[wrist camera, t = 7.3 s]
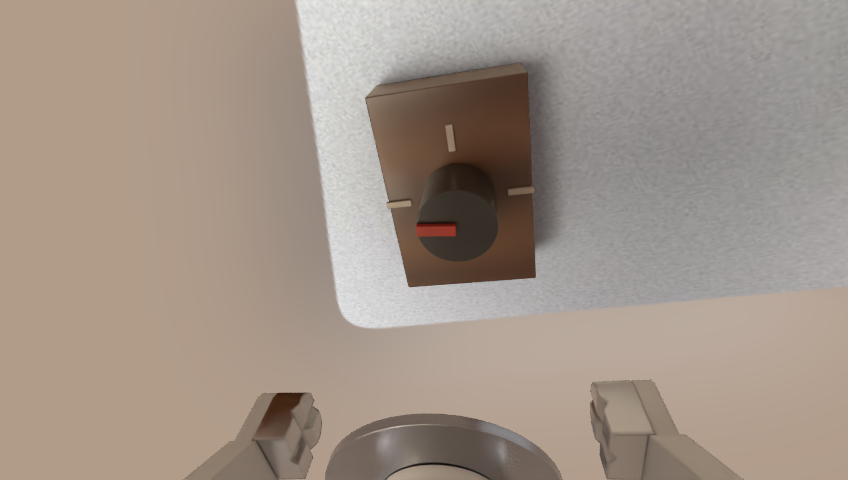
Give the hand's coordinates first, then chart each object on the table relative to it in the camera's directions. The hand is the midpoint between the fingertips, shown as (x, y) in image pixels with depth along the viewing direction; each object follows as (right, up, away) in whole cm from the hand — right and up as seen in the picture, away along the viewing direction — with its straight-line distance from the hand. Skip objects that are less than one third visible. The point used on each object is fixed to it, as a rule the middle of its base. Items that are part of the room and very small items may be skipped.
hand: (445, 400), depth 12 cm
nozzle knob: (+1, +7, +11) cm, 13 cm away
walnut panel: (+2, +9, +14) cm, 16 cm away
